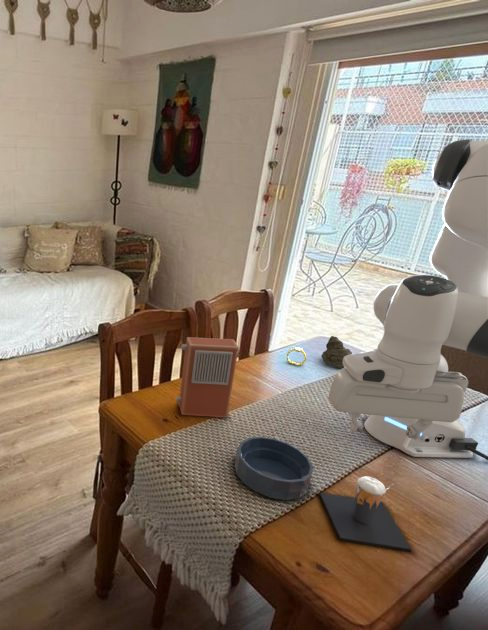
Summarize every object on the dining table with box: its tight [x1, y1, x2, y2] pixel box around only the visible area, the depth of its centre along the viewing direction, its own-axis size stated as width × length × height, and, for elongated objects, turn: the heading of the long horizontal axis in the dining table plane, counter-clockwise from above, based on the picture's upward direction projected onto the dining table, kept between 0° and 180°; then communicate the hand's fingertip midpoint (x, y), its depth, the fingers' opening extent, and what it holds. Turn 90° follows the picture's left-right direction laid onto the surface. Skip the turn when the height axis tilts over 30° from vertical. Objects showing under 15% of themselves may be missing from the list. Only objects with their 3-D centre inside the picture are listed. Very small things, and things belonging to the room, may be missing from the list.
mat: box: [318, 492, 412, 552], centre depth 87 cm, size 12×12×1 cm
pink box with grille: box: [175, 336, 240, 419], centre depth 120 cm, size 21×7×15 cm
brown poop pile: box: [321, 335, 353, 369], centre depth 151 cm, size 11×12×10 cm
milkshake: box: [352, 475, 395, 524], centre depth 85 cm, size 4×5×10 cm
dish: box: [234, 436, 314, 501], centre depth 98 cm, size 15×15×5 cm
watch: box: [286, 346, 307, 367], centre depth 151 cm, size 6×3×6 cm, turn 60°
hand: (383, 433), depth 82 cm, fingers open, 8 cm apart
